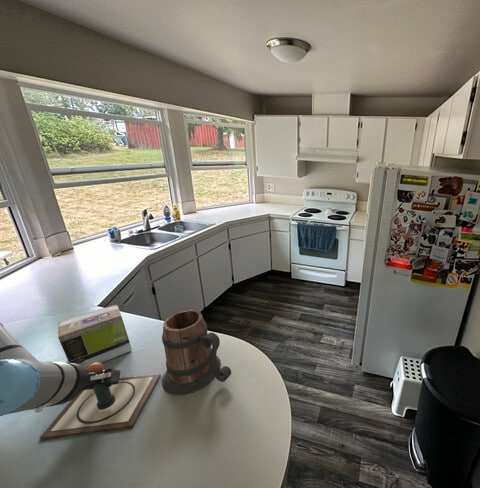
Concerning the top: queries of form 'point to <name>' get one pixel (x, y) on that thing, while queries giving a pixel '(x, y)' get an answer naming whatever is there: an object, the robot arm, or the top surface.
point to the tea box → (94, 337)
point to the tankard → (190, 354)
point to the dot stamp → (101, 389)
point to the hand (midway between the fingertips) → (108, 380)
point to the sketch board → (112, 418)
